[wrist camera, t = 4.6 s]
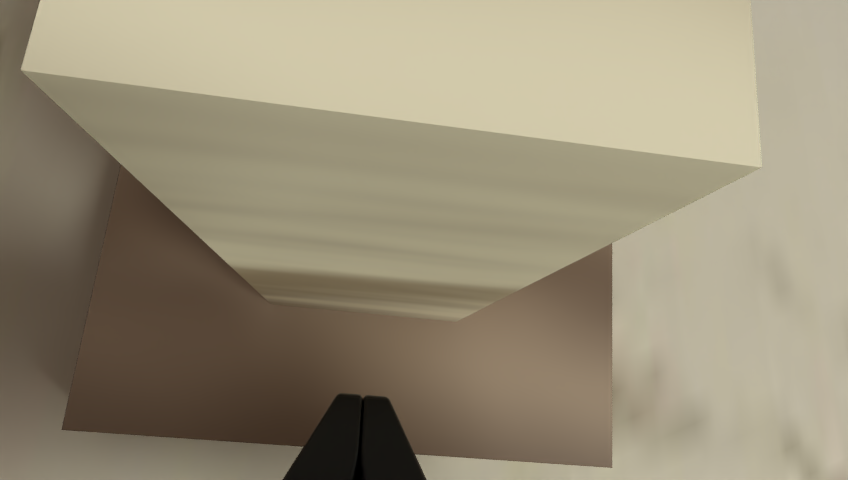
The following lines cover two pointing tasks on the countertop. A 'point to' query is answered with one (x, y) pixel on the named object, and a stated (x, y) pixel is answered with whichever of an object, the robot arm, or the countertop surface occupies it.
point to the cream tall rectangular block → (408, 131)
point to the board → (334, 355)
